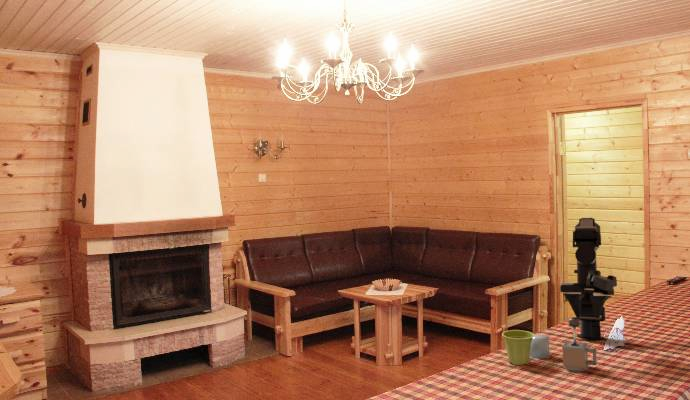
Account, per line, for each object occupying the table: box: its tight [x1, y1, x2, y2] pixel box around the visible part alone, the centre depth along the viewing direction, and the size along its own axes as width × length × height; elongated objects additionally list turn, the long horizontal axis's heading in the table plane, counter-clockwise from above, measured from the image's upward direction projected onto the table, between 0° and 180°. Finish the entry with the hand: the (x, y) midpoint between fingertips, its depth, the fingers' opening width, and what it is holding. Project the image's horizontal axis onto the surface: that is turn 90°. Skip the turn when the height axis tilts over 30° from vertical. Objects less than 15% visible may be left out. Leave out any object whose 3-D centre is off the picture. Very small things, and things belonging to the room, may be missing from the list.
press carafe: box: [561, 340, 598, 373], centre depth 171 cm, size 7×9×7 cm
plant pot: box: [501, 329, 534, 366], centre depth 180 cm, size 9×9×9 cm
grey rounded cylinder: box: [530, 333, 551, 360], centre depth 185 cm, size 6×6×6 cm
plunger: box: [568, 316, 580, 346], centre depth 172 cm, size 3×3×9 cm
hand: (588, 317), depth 182 cm, fingers open, 9 cm apart
